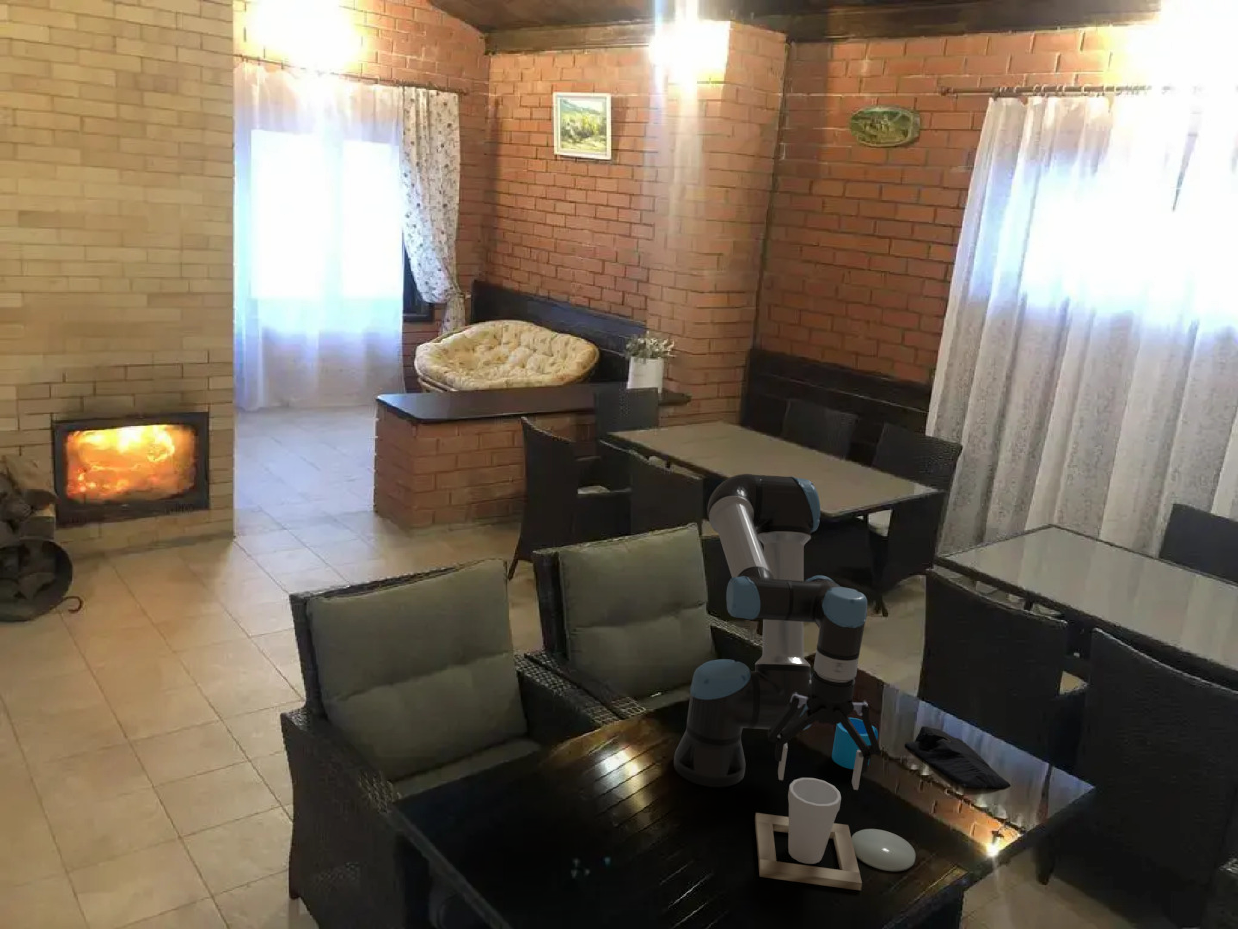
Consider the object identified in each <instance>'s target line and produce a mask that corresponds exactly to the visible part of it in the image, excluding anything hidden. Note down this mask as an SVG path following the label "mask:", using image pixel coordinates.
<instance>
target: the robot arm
mask: <svg viewBox="0 0 1238 929" xmlns="http://www.w3.org/2000/svg"><path fill="white" fill-rule="evenodd" d="M707 517H708V521H709V524H710V526H711V528H712V529H713V530H714V531H715V533H717V534H718V537H719V540H720V543H721V546H722V549H723V553H724V555H725V560H726V562H727V565H728V570H729V572H730V575H731V578H730V580H729V581H728V582H727V587H726V598H725V600H726V610H727V612H728V614H729V615H730V616H731V617H734V618H742V619H747V620H749V621H750V620H762V655H761V657H760V658H759V659H758V660H757V661H756V662H755V664H754V666H755V667H754V668H755V669H754V671H751V670H750V668H749V667H748V666H747V665H746V664H745V663H743V662H741V661H735V660H734V659H727V658H726V659H725V658H722V659H714V660H709V661H706V662H704V663H702V664H701V665H699V666H698V667H697V668H696V669H695V670H694V672H693V675H692V680H691V684H690V688H689V691H690V692H689V693H690V695H689V703H688V710H687V718H686V729H685V732H684V733H683V736H682V737H681V739H680V741H679V744H678V745H677V747H676V749H675V752H674V757H673V767H674V770H675V771H676V773H677V774H679V776H680V777H682V778H684V779H685V780H687V781H688V782H691V783H693V784H695V785H698V786H704V787H709V788H726V787H730V786H734V785H736V784H739V783H740V782H742V780H743V779H744V776H745V773H746V759H745V755H744V749H743V745H742V744H743V743H742V732H743V729H754V730H755V729H758V730H759V729H760V730H767V740H768V741H769V742H771V743H775V748H774V760H775V761H776V762H778V768H777V775H778V780H779V781H784V777H785V776H784V775H785V769H786V768H785V767H786V764H787V763H786V761H787V757H788V756H787V755H788V749H789V748H788V746H789V745H788V742H790V741H791V740H793V738H794V737H796V736H797V735H798V734H799V733H801V732H802V731H804V730H805V731H806V730H807V729H809V728H810V727H811V726H812V725H813V724H814V723H815V722H816V721H817V722H818V724H829V725H832V726H837V724H839V723H841V724H842V725H843V727H844V728H845V729H846V730H847V732H848V733H849V735H850V736H851V738H852V739H853V741H854V742H855V743H856V745H857V746H858V748H859V749H860V750H857V753H856V759H855V765H854V769H853V773H852V779H851V784H852V788H853V790H856V791H858V790H859V786H860V782H861V781H860V779H861V775H862V774H861V773H867V770H868V767H869V765H868V762H869V763H870V760H869V759H871V758H872V756H874V755H875V756H879V755H881V753H882V751H881V748H880V745H879V742H878V739H876V736H875V733H874V731H873V728H872V726H873V725H872V723H871V720H870V707H869V704H868V701H867V700H865V699H863V700H860V702H853V697H854V691H855V684H856V679H855V678H856V677H857V673H858V672H857V671H858V665H859V659H860V655H861V654H860V652H861V647H862V641H863V636H864V630H865V625H866V620H867V616H868V614H867V613H868V612H867V610H868V599H867V596H866V595H865V594H864V593H863V592H860V591H858V590H857V589H854V588H850V587H843V586H840V584H838V583H836V582H835V581H834V580H833V579H831V578H830V577H828V576H825V575H823V574H822V575H819V574H818V575H814V576H811V577H808V578H807V579H805V577H804V576H805V575H804V574H805V573H804V572H805V571H804V569H805V568H804V567H805V566H804V564H805V563H804V562H805V561H804V560H805V559H804V556H805V555H804V554H805V552H804V550H805V549H804V548H805V547H804V546H805V545H806V543H808V541H810V540H811V539H812V534H811V533H813V532H815V531H817V530H818V527H819V525H820V518H821V503H820V496H819V493H818V491H817V487H816V486H815V485H814V483H813V482H812V481H811V480H809V479H806V478H800V477H799V478H798V477H795V476H791V475H790V476H782V475H780V476H779V475H764V474H763V475H762V474H751V473H741V474H736V475H734V476H730V477H729V478H727V479H725V480H724V481H722V482H721V483H720V484H719V485H718V486H717V487H716V488H715V489H714V490H713V492H712V493H711V495H710V497H709V500H708V504H707ZM762 545H763V546H762ZM804 579H805V580H804ZM804 622H805V623H815V624H816V626H817V627H818V629H819V630H818V631H819V632H818V638H817V644H816V651H815V657H814V662H813V663H814V664H813V672H812V673H811V664H810V663H809V662H808V661H807V659H805V657H804ZM853 711H855V712H856V713H857V716H860V718H861V720H863V723H864V726H865V729H866V731H867V734H868V737H869V740H870V743H871V745H868V746H867V744H866V743H865V741H864V740H863V738H862V737H861V736H860V734H859V733H858V731H857V730H856V728H855V727H854V725H853V724H852V722H851V721H850V719H849V718H850V717H849V716H850V715H851V714H852V712H853Z"/></svg>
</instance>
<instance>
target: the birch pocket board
mask: <svg viewBox="0 0 1238 929" xmlns="http://www.w3.org/2000/svg"><path fill="white" fill-rule="evenodd" d="M754 825H755V836H756V848H757V849H756V850H757V859H758V860H757V862H758V872H759V874H758V875H759V878H760V877H761V878H768V879H775V880H782V881H788V882H796V883H804V884H811V885H816V886H817V885H819V886H825V887H826V886H827V887H834V888H840V889H845V890H856V891H862V886H863V882H862V878H861V872H860V869H859V866H858V865H859V864H858V861H857V857H856V855H855V851H854V847H853V843H852V839H851V838H852V836H851V830H850V827H849V824H842V823H836V822H834V824H833V827H832V830H831V833H830V836H829V839H831V840H833V842H834V843H833V844H834V847H835V851H836V857H837V862H838V866H839V869H836V868H835V869H834V868H828V867H822V866H821V867H819V866H814V865H813V866H812V865H806V864H800V863H799V864H798V863H792V862H791V863H790V862H783V861H777V856H776V854H777V853H776V847H775V837H774V836H775V835H774V832H780V833H787V834H789V816H783V815H776V814H775V815H774V814H769V813H761V812H755V816H754Z"/></svg>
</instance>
